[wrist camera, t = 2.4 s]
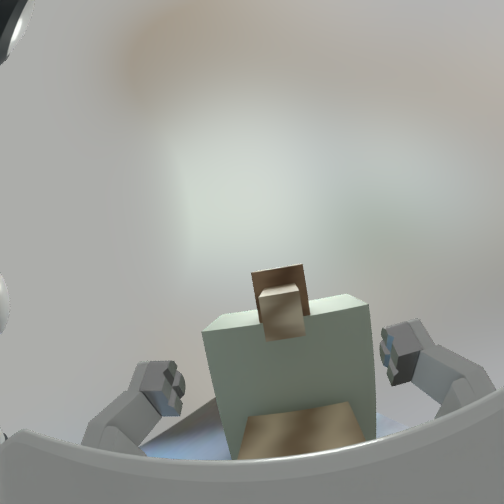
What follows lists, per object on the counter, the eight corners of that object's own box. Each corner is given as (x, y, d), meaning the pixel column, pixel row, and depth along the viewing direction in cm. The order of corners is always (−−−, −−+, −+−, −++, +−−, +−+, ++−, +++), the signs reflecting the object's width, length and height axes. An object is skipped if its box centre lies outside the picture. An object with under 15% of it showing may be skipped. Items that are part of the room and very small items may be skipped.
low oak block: (260, 549, 19) (233, 472, 20) (266, 495, 30) (248, 416, 31) (364, 535, 18) (371, 452, 19) (351, 483, 29) (348, 401, 30)
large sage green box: (240, 488, 33) (201, 331, 34) (249, 447, 45) (221, 314, 46) (374, 469, 31) (368, 304, 32) (358, 431, 43) (347, 293, 44)
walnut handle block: (251, 343, 25) (240, 276, 25) (263, 313, 41) (256, 271, 41) (320, 332, 24) (309, 264, 25) (305, 306, 40) (299, 263, 41)
